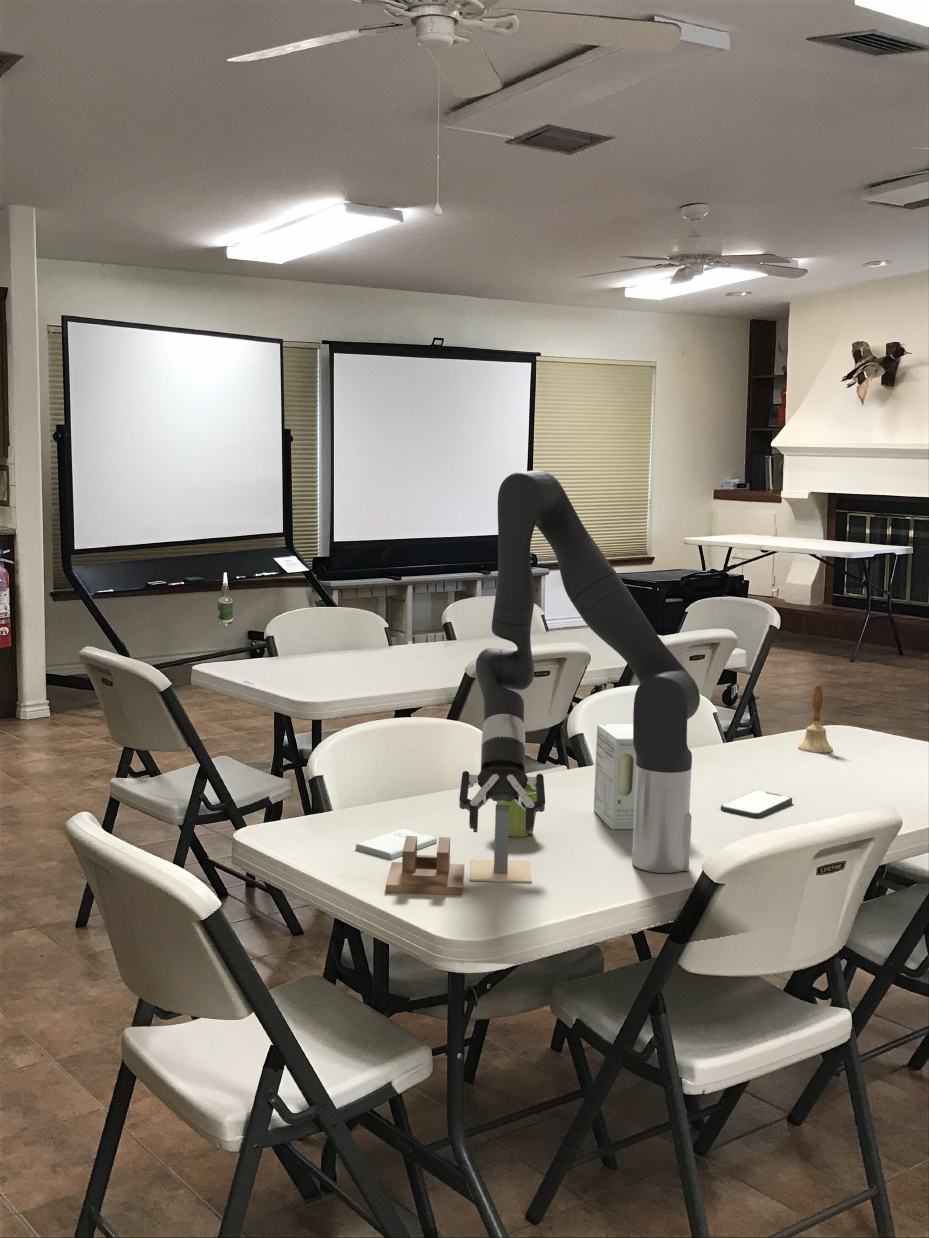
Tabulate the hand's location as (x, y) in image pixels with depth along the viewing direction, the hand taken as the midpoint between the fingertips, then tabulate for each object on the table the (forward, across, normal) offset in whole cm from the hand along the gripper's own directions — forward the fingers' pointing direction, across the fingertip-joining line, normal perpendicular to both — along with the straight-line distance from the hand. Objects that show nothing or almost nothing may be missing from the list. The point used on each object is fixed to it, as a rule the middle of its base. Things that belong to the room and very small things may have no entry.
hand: (501, 831), depth 195 cm
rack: (+9, -12, +2) cm, 15 cm away
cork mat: (+4, 0, +6) cm, 7 cm away
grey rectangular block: (+4, 0, +6) cm, 7 cm away
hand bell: (-66, +78, +76) cm, 127 cm away
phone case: (-27, +52, +38) cm, 70 cm away
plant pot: (-11, +3, +22) cm, 25 cm away
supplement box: (-19, +26, +30) cm, 44 cm away
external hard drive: (-4, -18, +15) cm, 24 cm away
